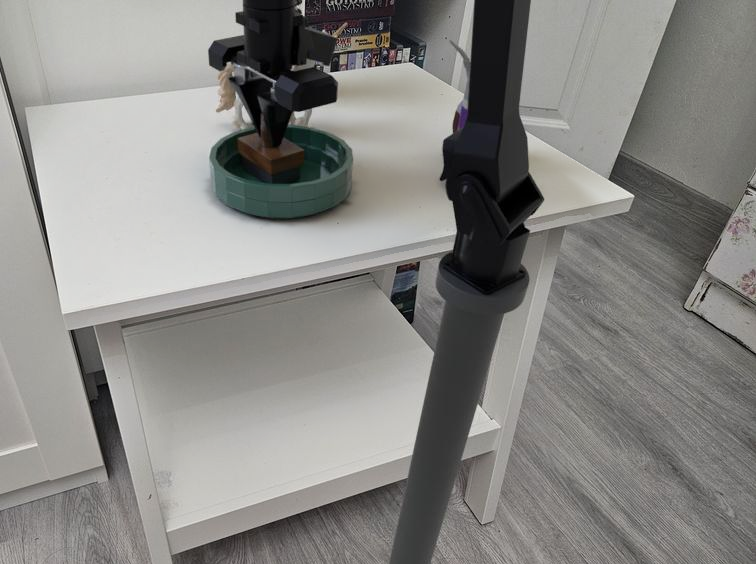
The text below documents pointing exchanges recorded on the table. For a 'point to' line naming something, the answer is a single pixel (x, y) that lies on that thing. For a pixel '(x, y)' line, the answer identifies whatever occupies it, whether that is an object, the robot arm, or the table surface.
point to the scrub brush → (270, 157)
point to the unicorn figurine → (229, 101)
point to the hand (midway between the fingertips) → (270, 141)
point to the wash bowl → (295, 199)
